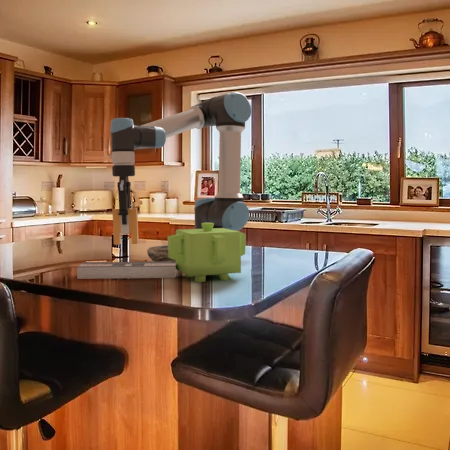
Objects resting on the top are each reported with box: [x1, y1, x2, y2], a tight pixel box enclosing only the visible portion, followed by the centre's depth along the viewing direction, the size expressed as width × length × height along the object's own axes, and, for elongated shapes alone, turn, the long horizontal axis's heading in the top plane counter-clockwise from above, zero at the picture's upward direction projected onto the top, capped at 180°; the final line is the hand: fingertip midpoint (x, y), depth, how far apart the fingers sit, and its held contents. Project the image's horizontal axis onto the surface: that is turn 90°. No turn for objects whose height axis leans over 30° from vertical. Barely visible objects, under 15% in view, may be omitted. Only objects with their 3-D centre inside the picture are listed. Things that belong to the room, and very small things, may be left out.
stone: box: [146, 244, 176, 262], centre depth 177 cm, size 14×10×10 cm
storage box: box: [167, 223, 247, 283], centre depth 149 cm, size 25×23×17 cm
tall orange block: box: [112, 208, 139, 246], centre depth 165 cm, size 8×3×12 cm, turn 94°
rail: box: [76, 261, 177, 280], centre depth 152 cm, size 30×8×4 cm, turn 94°
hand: (125, 233), depth 165 cm, fingers closed on tall orange block, 3 cm apart
